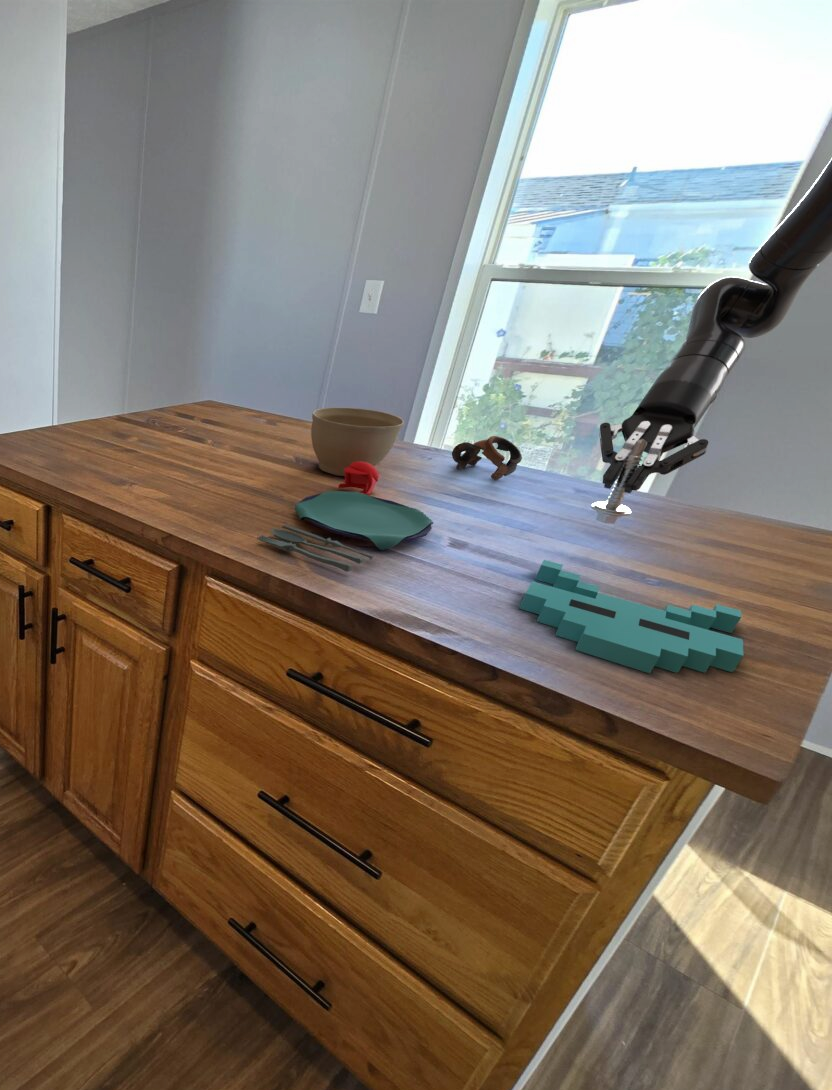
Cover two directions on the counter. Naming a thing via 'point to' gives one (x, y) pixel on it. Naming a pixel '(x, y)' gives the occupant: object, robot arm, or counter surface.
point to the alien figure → (633, 626)
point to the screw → (620, 488)
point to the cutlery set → (352, 524)
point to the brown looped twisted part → (488, 455)
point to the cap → (361, 477)
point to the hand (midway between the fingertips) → (617, 487)
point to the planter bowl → (352, 437)
